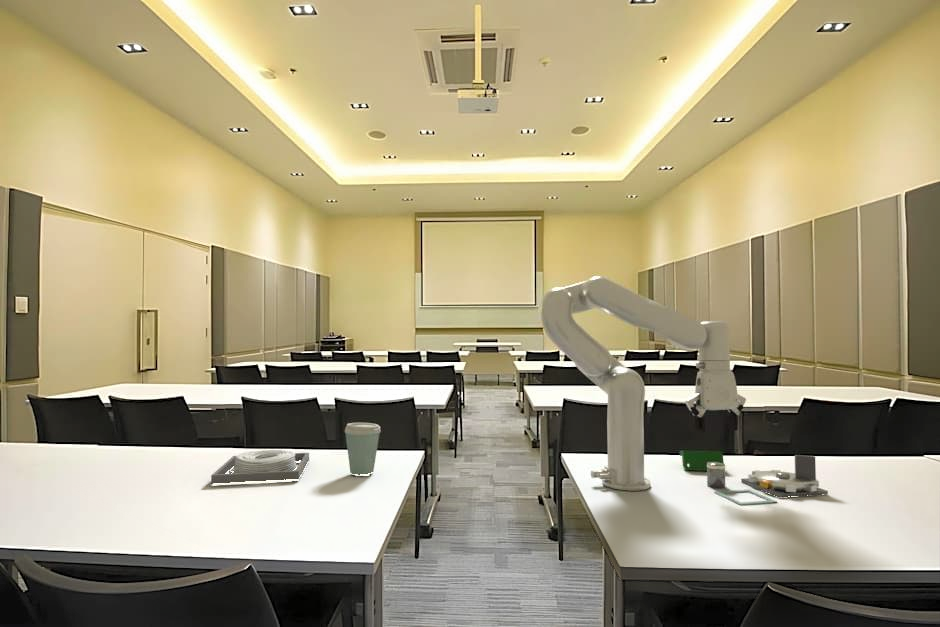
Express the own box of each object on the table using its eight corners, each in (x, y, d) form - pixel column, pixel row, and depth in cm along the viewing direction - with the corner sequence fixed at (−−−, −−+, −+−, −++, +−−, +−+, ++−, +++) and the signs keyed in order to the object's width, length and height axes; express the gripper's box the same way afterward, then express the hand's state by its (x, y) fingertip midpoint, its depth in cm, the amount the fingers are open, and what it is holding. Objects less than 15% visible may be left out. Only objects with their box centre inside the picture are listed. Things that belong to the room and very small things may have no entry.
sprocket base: (779, 498, 134) (778, 493, 134) (741, 482, 147) (741, 478, 147) (827, 494, 136) (827, 490, 136) (786, 479, 150) (786, 475, 150)
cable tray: (211, 486, 146) (211, 475, 146) (233, 465, 169) (233, 455, 169) (298, 481, 150) (298, 471, 150) (309, 461, 173) (309, 452, 173)
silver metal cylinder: (713, 489, 141) (713, 466, 142) (703, 484, 146) (703, 462, 146) (729, 488, 142) (728, 465, 142) (718, 483, 147) (718, 461, 147)
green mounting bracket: (712, 482, 163) (722, 454, 164) (718, 483, 157) (728, 454, 159) (673, 465, 166) (683, 438, 167) (677, 465, 160) (688, 437, 162)
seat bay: (740, 505, 128) (740, 504, 128) (714, 492, 138) (714, 491, 138) (777, 502, 130) (777, 501, 130) (749, 490, 140) (749, 489, 140)
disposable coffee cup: (363, 467, 165) (363, 418, 165) (388, 473, 159) (388, 422, 159) (336, 475, 156) (336, 424, 157) (362, 481, 150) (362, 427, 150)
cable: (220, 476, 157) (221, 456, 157) (271, 463, 172) (271, 444, 172) (259, 485, 148) (259, 463, 148) (308, 471, 163) (308, 451, 163)
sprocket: (827, 495, 132) (827, 464, 132) (755, 489, 137) (754, 459, 137) (808, 477, 147) (807, 449, 147) (743, 473, 152) (743, 446, 152)
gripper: (693, 368, 140) (695, 434, 139) (752, 366, 143) (755, 431, 142) (677, 366, 147) (679, 429, 147) (734, 364, 150) (736, 426, 149)
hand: (716, 430), depth 144 cm, fingers open, 9 cm apart
